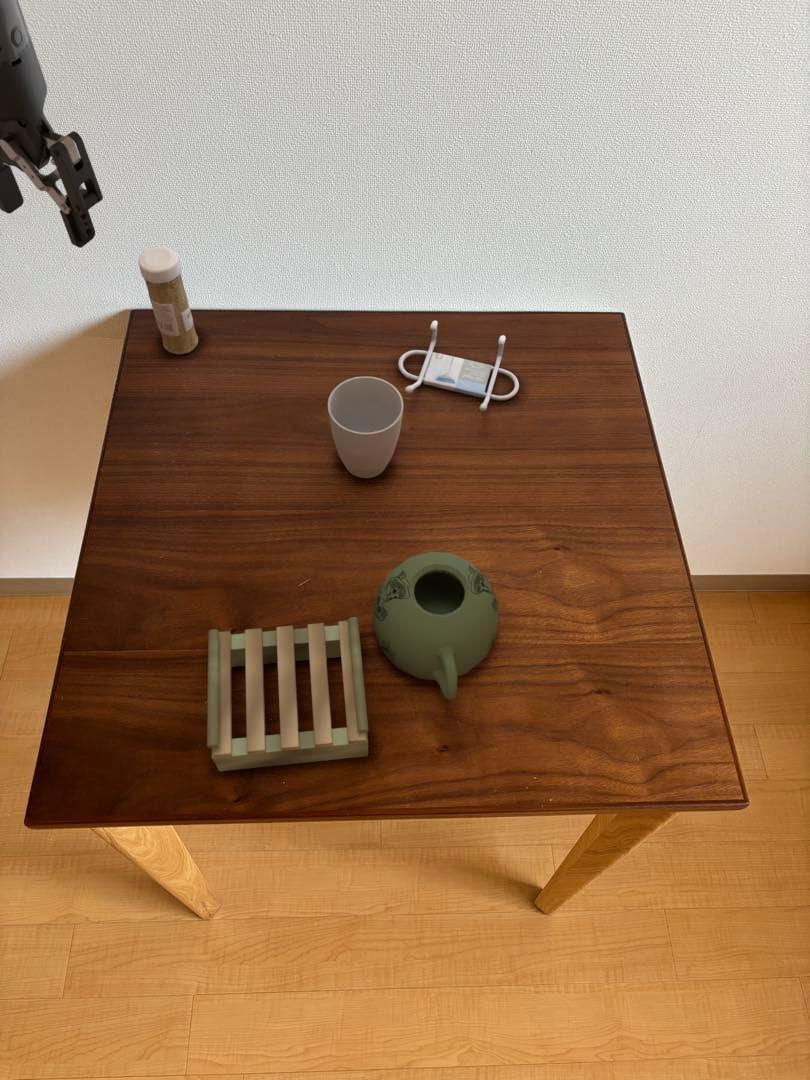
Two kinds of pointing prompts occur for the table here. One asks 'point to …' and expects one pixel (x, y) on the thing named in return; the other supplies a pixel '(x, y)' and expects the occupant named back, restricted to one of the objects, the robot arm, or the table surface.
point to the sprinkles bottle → (168, 299)
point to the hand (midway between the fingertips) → (48, 224)
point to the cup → (365, 423)
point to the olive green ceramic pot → (436, 618)
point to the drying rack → (285, 695)
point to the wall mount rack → (458, 372)
